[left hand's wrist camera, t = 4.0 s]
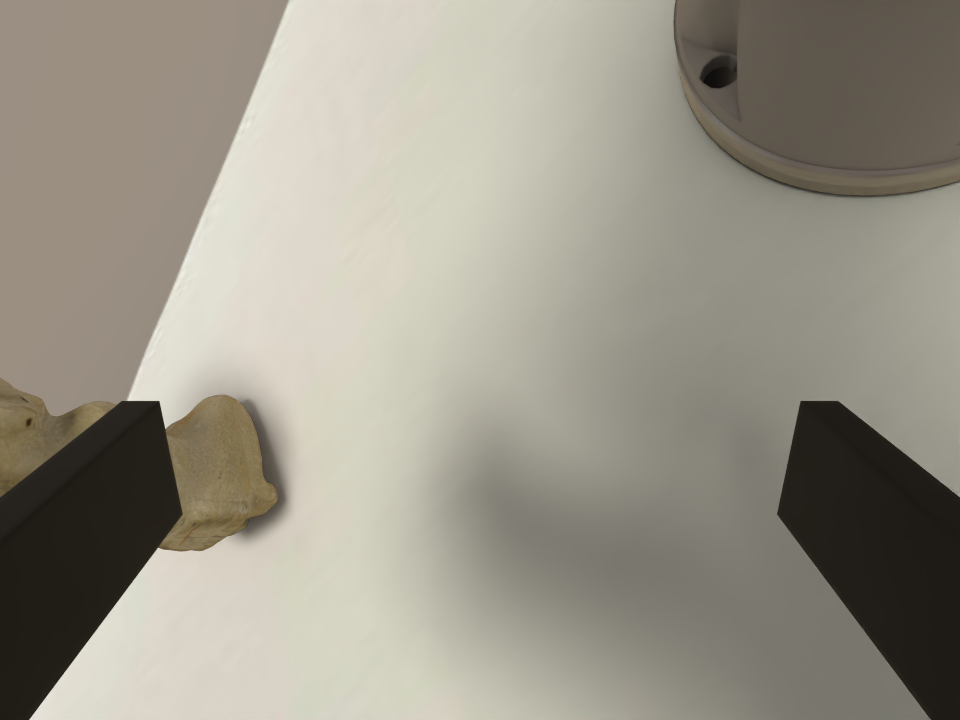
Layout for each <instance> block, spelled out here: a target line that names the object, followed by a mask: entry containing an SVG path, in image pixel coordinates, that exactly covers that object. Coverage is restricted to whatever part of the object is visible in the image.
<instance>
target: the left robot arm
mask: <svg viewBox="0 0 960 720" xmlns="http://www.w3.org/2000/svg"><path fill="white" fill-rule="evenodd" d="M674 39H675V45H676V52H677V58H678V65H679V71H680V77H681V82H682V85H683V89H684V92H685V95H686V98H687V100H688V102H689V104H690V107H691V109H692V111H693V112H694V114H695V116H696V117H697V119H698V121H699V123H700V124H701V125H702V126H703V128H704V129H705V130H706V132H707V133H708V134H709V135H710V136H711V137H712V139H713V140H714V141H715V142H716V143H717V144H718V145H719V146H720V147H721V148H723V149H724V150H725V151H726V152H728V153H729V154H730V155H731V156H732V157H734V158H735V159H737V160H738V161H740V162H741V163H743V164H745V165H746V166H748V167H749V168H751V169H753V170H755V171H757V172H759V173H761V174H763V175H765V176H767V177H770V178H772V179H775V180H778V181H780V182H783V183H786V184H789V185H793V186H796V187H800V188H803V189H808V190H814V191H819V192H824V193H833V194H843V195H887V194H898V193H906V192H913V191H920V190H924V189H929V188H934V187H938V186H943V185H946V184H950V183H953V182H957V181H960V0H676V2H675V11H674ZM182 515H183V512H182V508H181V503H180V498H179V493H178V488H177V484H176V479H175V474H174V469H173V464H172V460H171V455H170V450H169V445H168V440H167V436H166V431H165V426H164V421H163V416H162V412H161V407H160V402H159V401H121V402H120V403H119V404H118V405H116V406H115V407H114V408H113V409H111V410H110V411H109V412H107V413H106V414H105V415H104V416H102V417H101V418H100V419H99V420H97V421H96V422H95V423H94V424H92V425H91V426H90V427H89V428H87V429H86V430H85V431H83V432H82V433H81V434H80V435H78V436H77V437H76V438H75V439H73V440H72V441H71V442H70V443H68V444H67V445H66V446H65V447H63V448H62V449H61V450H59V451H58V452H57V453H56V454H54V455H53V456H52V457H51V458H49V459H48V460H47V461H46V462H44V463H43V464H42V465H41V466H39V467H38V468H37V469H35V470H34V471H33V472H32V473H30V474H29V475H28V476H27V477H25V478H24V479H23V480H22V481H20V482H19V483H18V484H17V485H15V486H14V487H13V488H11V489H10V490H9V491H8V492H6V493H5V494H4V495H3V496H1V497H0V720H29V719H30V718H31V716H32V715H33V714H34V712H35V711H36V710H37V708H38V707H39V706H40V704H41V703H42V702H43V700H44V699H45V698H46V696H47V695H48V694H49V692H50V691H51V690H52V688H53V687H54V686H55V684H56V683H57V682H58V680H59V679H60V678H61V676H62V675H63V674H64V672H65V671H66V670H67V668H68V667H69V666H70V664H71V663H72V662H73V660H74V659H75V658H76V656H77V655H78V654H79V652H80V651H81V650H82V648H83V647H84V646H85V644H86V643H87V642H88V640H89V639H90V638H91V636H92V635H93V634H94V632H95V631H96V630H97V628H98V627H99V626H100V624H101V623H102V622H103V620H104V619H105V618H106V616H107V615H108V614H109V612H110V611H111V610H112V608H113V607H114V606H115V604H116V603H117V602H118V600H119V599H120V598H121V596H122V595H123V594H124V592H125V591H126V590H127V588H128V587H129V586H130V584H131V583H132V582H133V580H134V579H135V578H136V576H137V575H138V574H139V572H140V571H141V570H142V568H143V567H144V566H145V564H146V563H147V562H148V560H149V559H150V558H151V556H152V555H153V554H154V552H155V551H156V550H157V548H158V547H159V546H160V544H161V543H162V542H163V540H164V539H165V538H166V536H167V535H168V534H169V532H170V531H171V530H172V528H173V527H174V526H175V524H176V523H177V522H178V520H179V519H180V517H181V516H182ZM777 515H778V516H779V518H780V519H781V520H782V522H783V523H784V524H785V526H786V527H787V528H788V530H789V531H790V532H791V534H792V535H793V536H794V538H795V539H796V540H797V542H798V543H799V544H800V546H801V547H802V548H803V550H804V551H805V552H806V554H807V555H808V556H809V558H810V559H811V560H812V562H813V563H814V564H815V566H816V567H817V568H818V570H819V571H820V572H821V574H822V575H823V576H824V578H825V579H826V580H827V582H828V583H829V584H830V586H831V587H832V588H833V590H834V591H835V592H836V594H837V595H838V596H839V598H840V599H841V600H842V602H843V603H844V604H845V606H846V607H847V608H848V610H849V611H850V612H851V614H852V615H853V616H854V618H855V619H856V620H857V622H858V623H859V624H860V626H861V627H862V628H863V630H864V631H865V632H866V634H867V635H868V636H869V638H870V639H871V640H872V642H873V643H874V644H875V646H876V647H877V648H878V650H879V651H880V652H881V654H882V655H883V656H884V658H885V659H886V660H887V662H888V663H889V664H890V666H891V667H892V668H893V670H894V671H895V672H896V674H897V675H898V676H899V678H900V679H901V680H902V682H903V683H904V684H905V686H906V687H907V688H908V690H909V691H910V692H911V694H912V695H913V696H914V698H915V699H916V700H917V702H918V703H919V704H920V706H921V707H922V708H923V710H924V711H925V712H926V714H927V715H928V716H929V718H930V719H931V720H960V497H959V496H957V495H956V494H955V493H954V492H952V491H951V490H950V489H949V488H947V487H946V486H945V485H943V484H942V483H941V482H940V481H938V480H937V479H936V478H935V477H933V476H932V475H931V474H930V473H928V472H927V471H926V470H925V469H923V468H922V467H921V466H919V465H918V464H917V463H916V462H914V461H913V460H912V459H911V458H909V457H908V456H907V455H906V454H904V453H903V452H902V451H901V450H899V449H898V448H897V447H895V446H894V445H893V444H892V443H890V442H889V441H888V440H887V439H885V438H884V437H883V436H882V435H880V434H879V433H878V432H877V431H875V430H874V429H873V428H871V427H870V426H869V425H868V424H866V423H865V422H864V421H863V420H861V419H860V418H859V417H858V416H856V415H855V414H854V413H853V412H851V411H850V410H849V409H847V408H846V407H845V406H844V405H842V404H841V403H840V402H839V401H801V402H800V407H799V412H798V416H797V421H796V426H795V431H794V436H793V440H792V445H791V450H790V455H789V460H788V464H787V469H786V474H785V479H784V484H783V488H782V493H781V498H780V503H779V508H778V512H777Z"/></svg>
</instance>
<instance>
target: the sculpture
mask: <svg viewBox="0 0 960 720" xmlns="http://www.w3.org/2000/svg"><path fill="white" fill-rule="evenodd" d="M115 406H116V404H113V403H110V402H102V401H99V402H91V403H88V404H84V405H82V406H80V407H78V408H76V409H74V410H72V411H70V412H68V413H66V414H64V415H61V416H58V417H55V416H51V415H50V414H49V413H48V411H47V409H46V407H45V404H44V402H43V400H42V399H41V398H39V397H37V396H34V395H31V394H27V393H24V392H22V391H20V390H18V389H15V388H14V387H13V386H12V385H11V384H9V383H8V382H7V381H5V380H3V379H1V378H0V497H1V496H3V495H4V494H5V493H6V492H8V491H9V490H10V489H11V488H13V487H14V486H15V485H17V484H18V483H19V482H20V481H22V480H23V479H24V478H25V477H27V476H28V475H29V474H30V473H32V472H33V471H34V470H35V469H37V468H38V467H39V466H41V465H42V464H43V463H44V462H46V461H47V460H48V459H49V458H51V457H52V456H53V455H54V454H56V453H57V452H58V451H59V450H61V449H62V448H63V447H65V446H66V445H67V444H68V443H70V442H71V441H72V440H73V439H75V438H76V437H77V436H78V435H80V434H81V433H82V432H83V431H85V430H86V429H87V428H89V427H90V426H91V425H92V424H94V423H95V422H96V421H97V420H99V419H100V418H101V417H102V416H104V415H105V414H106V413H107V412H109V411H110V410H111V409H113V408H114V407H115ZM165 431H166V436H167V440H168V445H169V450H170V455H171V460H172V464H173V469H174V474H175V479H176V484H177V488H178V493H179V498H180V503H181V508H182V512H183V515H182V516H181V517H180V519H179V520H178V522H177V523H176V524H175V526H174V527H173V528H172V530H171V531H170V532H169V534H168V535H167V536H166V538H165V539H164V540H163V542H162V543H161V544H160V546H159V547H158V548H161V549H165V550H174V551H188V550H194V551H203V550H205V549H208V548H210V547H212V546H213V545H215V544H216V543H218V542H219V541H221V540H222V539H224V538H225V537H227V536H231V535H233V534H235V533H237V532H239V531H241V530H242V529H244V528H245V527H246V525H247V523H248V519H249V518H251V517H256V516H259V515H262V514H265V513H266V512H267V511H268V510H269V509H270V508H271V507H272V506H273V505H274V504H275V503H276V502H277V499H278V494H277V491H276V488H275V487H274V485H273V484H271V483H267V482H266V481H265V479H264V477H263V470H262V456H261V451H260V445H259V440H258V436H257V432H256V430H255V427H254V423H253V421H252V419H251V417H250V415H249V414H248V412H247V410H246V408H245V407H244V406H243V405H242V404H240V403H239V402H238V401H237V400H236V399H234V398H232V397H230V396H227V395H216V396H212V397H208V398H206V399H204V400H203V401H201V402H200V403H199V404H198V405H197V406H196V407H195V408H194V409H193V410H192V411H191V412H190V413H189V414H188V415H187V416H185V417H184V418H182V419H181V420H179V421H177V422H175V423H173V424H171V425H170V426H169V427H168V428H166V429H165Z"/></svg>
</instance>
